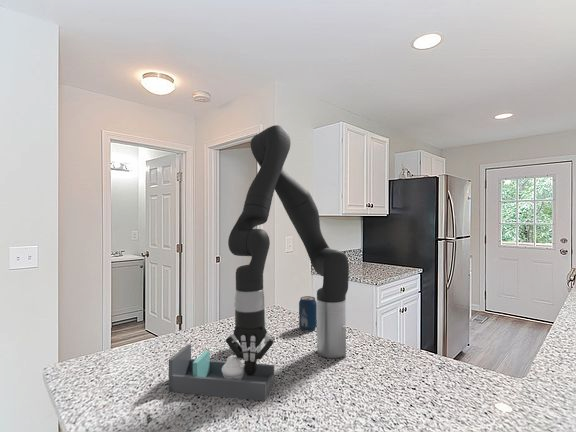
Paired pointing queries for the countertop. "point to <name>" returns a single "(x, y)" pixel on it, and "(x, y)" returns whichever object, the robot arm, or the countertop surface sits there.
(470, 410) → the countertop surface
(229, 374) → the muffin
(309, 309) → the soda can
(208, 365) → the teal flat slab
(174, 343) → the countertop surface
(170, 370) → the pusher lane
